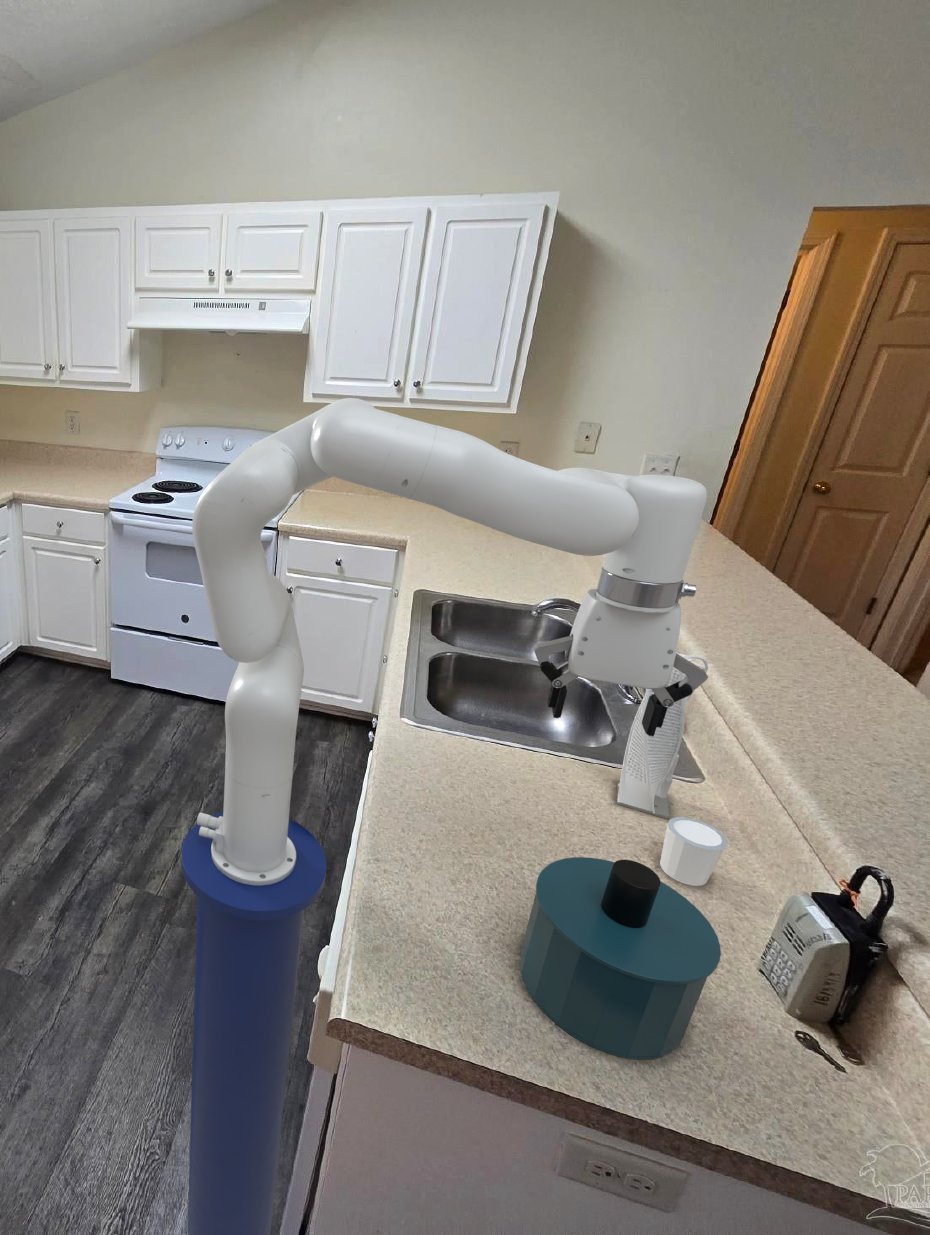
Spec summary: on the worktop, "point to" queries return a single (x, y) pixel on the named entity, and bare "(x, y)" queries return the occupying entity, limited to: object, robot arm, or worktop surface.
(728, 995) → the worktop surface
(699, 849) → the white cylinder
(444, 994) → the worktop surface
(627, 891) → the lid
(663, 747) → the skyscraper
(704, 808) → the worktop surface
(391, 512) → the worktop surface
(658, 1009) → the pot
